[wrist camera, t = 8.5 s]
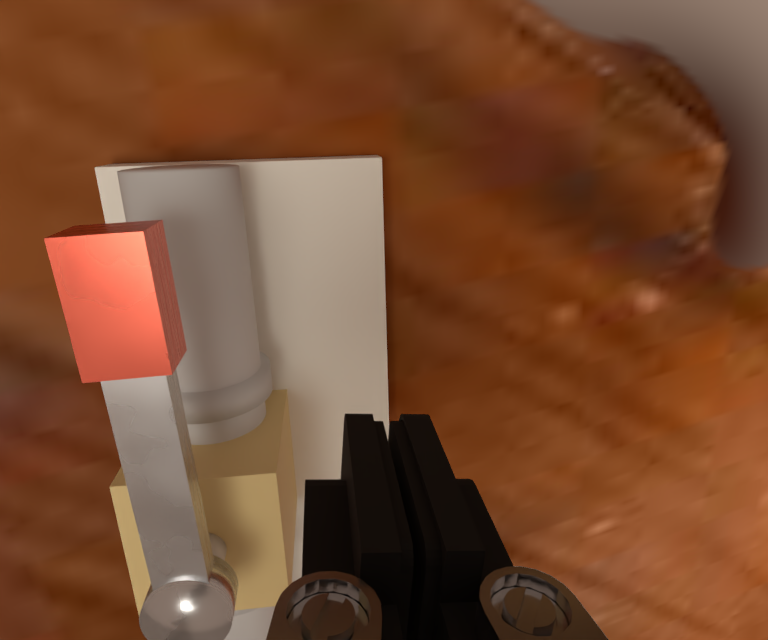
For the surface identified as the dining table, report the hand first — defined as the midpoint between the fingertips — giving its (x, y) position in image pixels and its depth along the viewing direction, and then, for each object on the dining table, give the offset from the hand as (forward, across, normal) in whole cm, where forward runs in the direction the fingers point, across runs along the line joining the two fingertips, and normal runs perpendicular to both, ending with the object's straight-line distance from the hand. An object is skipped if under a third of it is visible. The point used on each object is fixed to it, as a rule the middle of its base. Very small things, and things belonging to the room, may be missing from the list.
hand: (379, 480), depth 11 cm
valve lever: (+7, +6, +3) cm, 10 cm away
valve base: (+18, +3, +9) cm, 20 cm away
